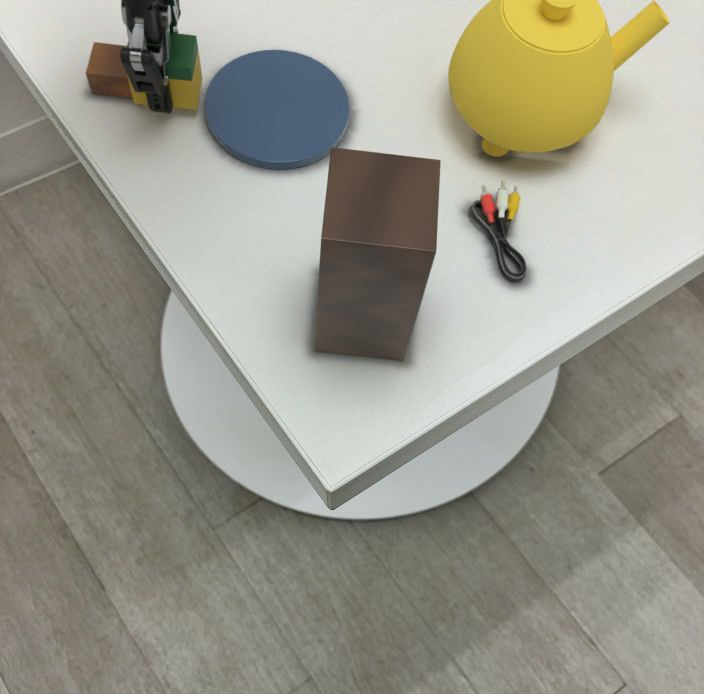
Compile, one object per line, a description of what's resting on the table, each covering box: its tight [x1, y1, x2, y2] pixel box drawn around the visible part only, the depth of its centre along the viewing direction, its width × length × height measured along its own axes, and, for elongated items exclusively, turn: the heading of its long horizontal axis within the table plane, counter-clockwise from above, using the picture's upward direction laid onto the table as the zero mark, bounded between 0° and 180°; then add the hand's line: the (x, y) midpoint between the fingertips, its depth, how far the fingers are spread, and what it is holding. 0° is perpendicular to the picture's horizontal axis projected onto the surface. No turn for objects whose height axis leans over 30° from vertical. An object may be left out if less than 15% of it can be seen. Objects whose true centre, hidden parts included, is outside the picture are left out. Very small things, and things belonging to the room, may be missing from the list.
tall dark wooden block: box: [313, 147, 442, 361], centre depth 64 cm, size 8×8×16 cm
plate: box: [204, 49, 350, 170], centre depth 78 cm, size 14×14×1 cm
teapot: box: [447, 0, 670, 157], centre depth 74 cm, size 20×16×14 cm
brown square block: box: [85, 41, 133, 100], centre depth 77 cm, size 4×4×2 cm
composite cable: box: [468, 180, 527, 283], centre depth 74 cm, size 10×5×2 cm, turn 4°
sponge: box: [126, 33, 203, 111], centre depth 74 cm, size 6×4×5 cm, turn 85°
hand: (165, 90), depth 77 cm, fingers closed on sponge, 4 cm apart
